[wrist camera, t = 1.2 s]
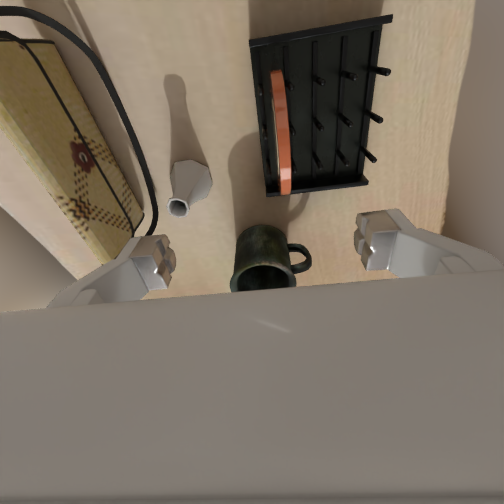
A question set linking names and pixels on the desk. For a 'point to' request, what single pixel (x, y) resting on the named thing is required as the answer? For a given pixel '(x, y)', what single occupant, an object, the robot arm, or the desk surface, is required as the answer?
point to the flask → (188, 186)
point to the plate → (280, 131)
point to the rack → (320, 102)
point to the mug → (265, 260)
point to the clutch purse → (67, 139)
